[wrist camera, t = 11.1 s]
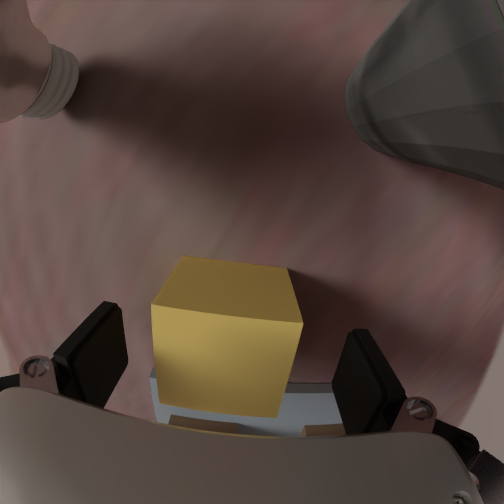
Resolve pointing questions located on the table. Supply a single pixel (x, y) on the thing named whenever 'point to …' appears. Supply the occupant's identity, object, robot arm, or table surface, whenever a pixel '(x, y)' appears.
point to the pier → (203, 424)
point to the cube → (225, 337)
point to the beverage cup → (436, 88)
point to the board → (285, 425)
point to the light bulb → (31, 67)
